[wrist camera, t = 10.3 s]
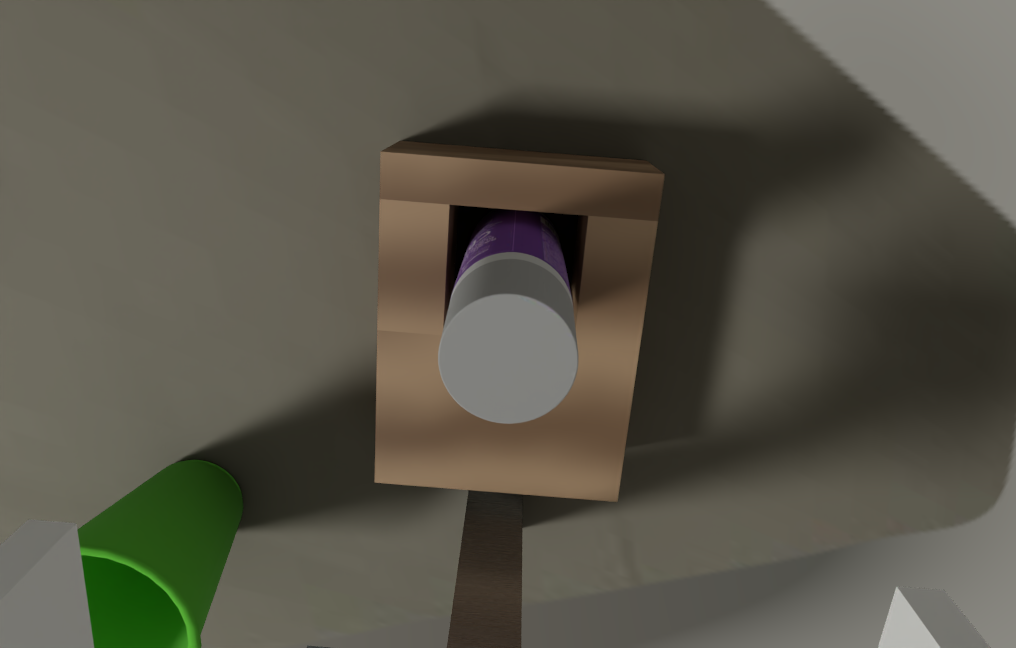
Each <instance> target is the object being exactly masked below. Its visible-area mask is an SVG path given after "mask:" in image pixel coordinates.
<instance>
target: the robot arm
mask: <svg viewBox="0 0 1016 648" xmlns="http://www.w3.org/2000/svg"><path fill="white" fill-rule="evenodd" d="M0 648H94V643H93V636H92V629H91V622H90V615H89V608H88V601H87V594H86V587H85V580H84V573H83V566H82V559H81V552H80V545H79V538H78V531H77V524H76V523H68V522H55V521H42V520H29V519H28V520H27V521H26V522H25V523H24V524H23V525H22V526H21V527H20V528H18V529H17V530H16V531H15V532H14V533H13V534H12V535H11V536H10V537H9V538H7V539H6V540H5V541H4V542H3V543H2V544H1V545H0ZM878 648H990V646H989V645H988V644H987V643H986V641H985V640H984V639H983V638H982V636H981V635H980V634H979V633H978V631H977V630H976V629H975V628H974V626H973V625H972V624H971V623H970V621H969V620H968V619H967V618H966V616H965V615H964V614H963V613H962V611H961V610H960V609H959V608H958V607H957V605H956V604H955V603H954V601H953V600H952V599H951V598H950V596H949V595H948V594H947V593H946V591H945V590H937V589H925V588H912V587H898V586H897V587H896V590H895V593H894V597H893V600H892V603H891V607H890V610H889V613H888V617H887V620H886V623H885V626H884V630H883V633H882V636H881V640H880V643H879V646H878Z"/></svg>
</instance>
